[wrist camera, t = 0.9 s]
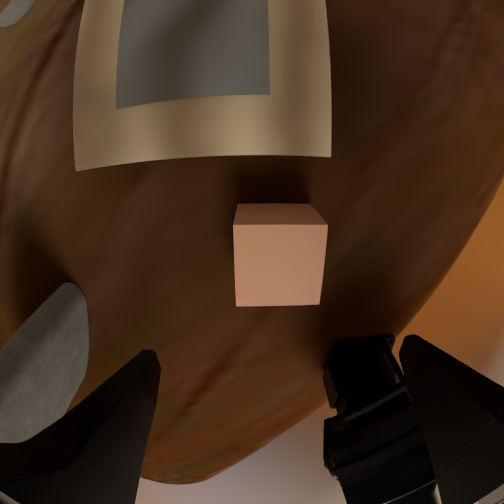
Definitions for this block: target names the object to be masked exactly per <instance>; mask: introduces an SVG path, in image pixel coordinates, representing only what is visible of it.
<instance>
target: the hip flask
mask: <svg viewBox="0 0 504 504" xmlns="http://www.w3.org/2000/svg"><path fill="white" fill-rule="evenodd" d="M88 352H89V327H88V315H87V306H86V299H85V296H84V294H83V292H82V291H81V290H80V288H79V287H77V286H76V285H75V284H73V283H70V282H66V283H64V284H62V285H61V286H60V287H59V288H58V289H57V290H56V291H55V292H54V293H53V294H52V295H51V296H50V297H49V298H48V299H47V300H46V301H45V302H44V303H43V304H42V305H41V306H40V307H39V308H38V309H37V310H36V311H35V312H34V313H33V314H32V315H31V316H30V317H29V318H28V319H27V320H26V321H25V322H24V324H23V325H22V326H21V327H20V328H19V329H18V330H17V331H16V332H15V333H14V334H13V336H12V337H11V338H10V339H9V340H8V341H7V342H6V344H5V345H4V346H3V347H2V348H1V349H0V443H18V442H23V441H25V440H28V439H30V438H31V437H33V436H34V435H36V434H37V433H39V432H41V431H42V430H44V429H45V428H47V427H48V426H50V425H51V424H53V423H54V422H56V421H57V420H58V419H60V418H61V417H63V416H64V414H65V412H66V410H67V408H68V407H69V405H70V403H71V401H72V399H73V397H74V395H75V393H76V392H77V390H78V388H79V386H80V384H81V382H82V381H83V379H84V376H85V373H86V369H87V363H88Z"/></svg>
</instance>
